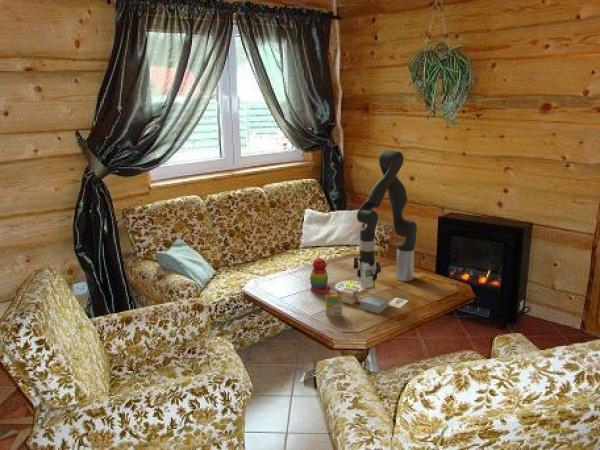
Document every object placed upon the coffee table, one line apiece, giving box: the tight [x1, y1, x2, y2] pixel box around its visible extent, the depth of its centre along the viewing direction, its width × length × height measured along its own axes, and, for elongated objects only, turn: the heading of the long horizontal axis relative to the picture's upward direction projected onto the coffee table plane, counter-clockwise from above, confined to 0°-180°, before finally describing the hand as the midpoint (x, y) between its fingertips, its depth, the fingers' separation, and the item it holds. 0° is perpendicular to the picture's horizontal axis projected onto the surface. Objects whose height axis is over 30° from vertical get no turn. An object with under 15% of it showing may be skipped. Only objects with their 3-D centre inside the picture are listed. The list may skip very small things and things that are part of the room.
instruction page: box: [389, 297, 409, 309], centre depth 249 cm, size 10×7×1 cm
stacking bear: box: [309, 256, 331, 295], centre depth 264 cm, size 11×10×18 cm
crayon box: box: [325, 292, 343, 317], centre depth 236 cm, size 7×3×12 cm, turn 92°
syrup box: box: [359, 262, 376, 292], centre depth 255 cm, size 6×6×14 cm
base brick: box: [360, 293, 390, 314], centre depth 244 cm, size 10×10×4 cm
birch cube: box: [341, 286, 359, 305], centre depth 251 cm, size 6×6×6 cm
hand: (367, 278), depth 256 cm, fingers closed on syrup box, 8 cm apart
